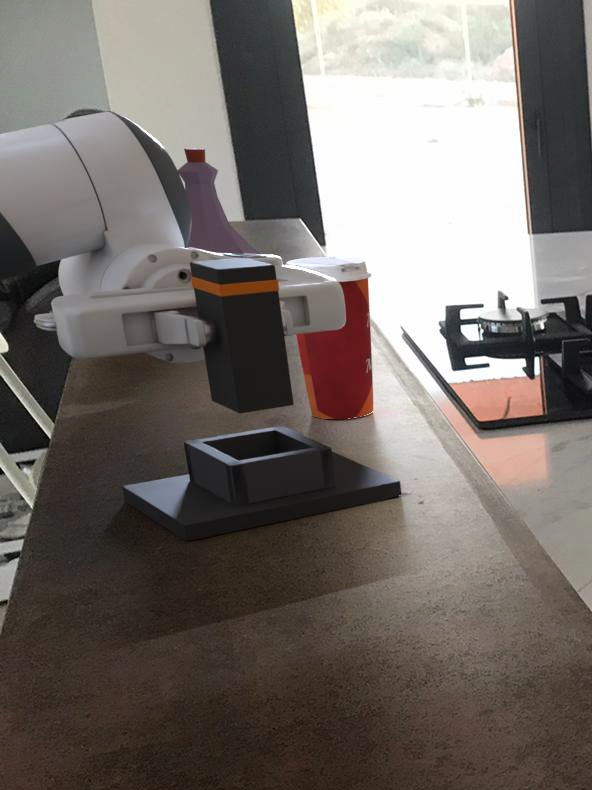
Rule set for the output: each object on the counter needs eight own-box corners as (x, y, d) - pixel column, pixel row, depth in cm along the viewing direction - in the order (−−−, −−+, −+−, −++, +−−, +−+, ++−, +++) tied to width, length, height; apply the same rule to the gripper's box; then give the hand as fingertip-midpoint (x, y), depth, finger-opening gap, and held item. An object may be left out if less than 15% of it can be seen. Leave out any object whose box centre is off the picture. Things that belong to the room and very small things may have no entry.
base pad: (186, 542, 87) (176, 482, 86) (124, 501, 95) (114, 446, 93) (402, 496, 98) (396, 442, 96) (329, 463, 105) (323, 413, 104)
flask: (284, 306, 176) (265, 152, 168) (152, 312, 169) (125, 152, 162) (274, 288, 189) (255, 145, 182) (151, 293, 183) (126, 145, 175)
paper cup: (402, 410, 122) (388, 260, 117) (338, 427, 116) (320, 269, 111) (345, 399, 126) (329, 253, 121) (280, 415, 120) (260, 261, 115)
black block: (239, 414, 91) (217, 269, 87) (210, 401, 94) (188, 261, 90) (295, 405, 93) (276, 264, 89) (265, 392, 97) (245, 257, 93)
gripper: (16, 274, 92) (80, 298, 83) (293, 252, 105) (374, 271, 96) (35, 361, 94) (99, 394, 85) (303, 329, 108) (382, 355, 99)
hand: (247, 329), depth 91 cm, fingers closed on black block, 4 cm apart
